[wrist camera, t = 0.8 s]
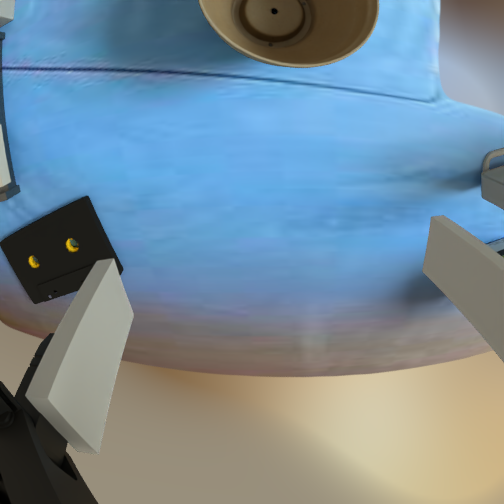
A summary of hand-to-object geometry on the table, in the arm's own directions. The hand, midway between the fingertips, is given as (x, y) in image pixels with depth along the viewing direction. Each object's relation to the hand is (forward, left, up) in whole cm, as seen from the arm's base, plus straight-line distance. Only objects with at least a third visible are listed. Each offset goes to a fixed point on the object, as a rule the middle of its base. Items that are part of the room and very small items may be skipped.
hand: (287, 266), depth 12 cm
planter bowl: (-17, +5, -26) cm, 32 cm away
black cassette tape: (+10, -27, -27) cm, 39 cm away
